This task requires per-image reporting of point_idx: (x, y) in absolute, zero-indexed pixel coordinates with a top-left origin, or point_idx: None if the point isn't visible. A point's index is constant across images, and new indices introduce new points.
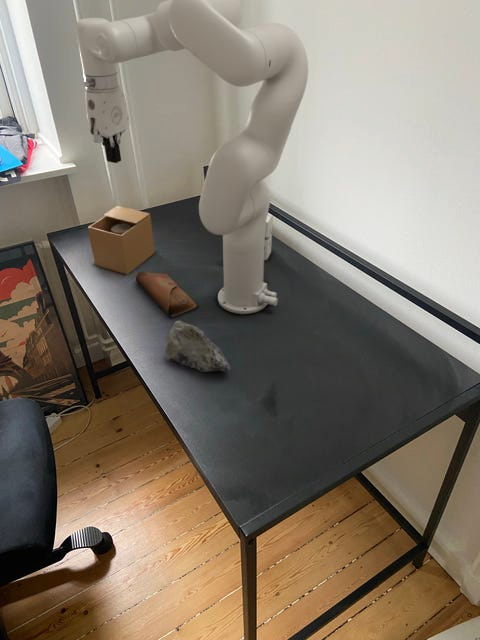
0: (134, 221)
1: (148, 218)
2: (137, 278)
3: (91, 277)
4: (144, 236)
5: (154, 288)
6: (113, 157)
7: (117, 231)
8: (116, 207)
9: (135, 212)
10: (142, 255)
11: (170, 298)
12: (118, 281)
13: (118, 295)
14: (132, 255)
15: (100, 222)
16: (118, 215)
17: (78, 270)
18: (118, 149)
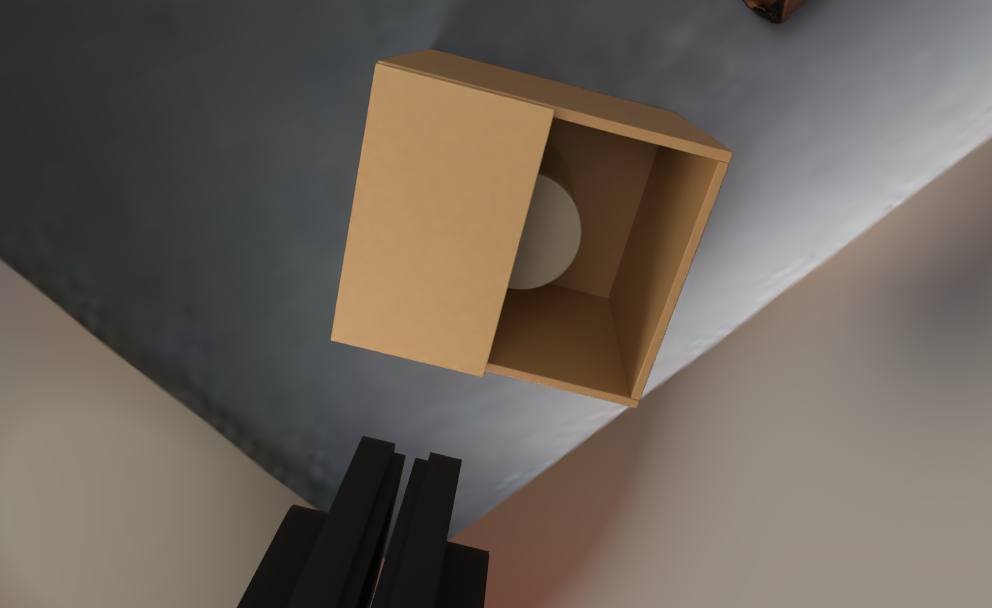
0: (531, 132)
1: (409, 66)
2: (802, 3)
3: (722, 275)
4: (490, 77)
5: None
6: (456, 555)
7: (569, 236)
8: (357, 337)
9: (392, 180)
10: (536, 79)
11: None
12: (746, 132)
13: (878, 79)
14: (624, 106)
15: (531, 366)
16: (466, 280)
17: (669, 354)
18: (337, 581)
